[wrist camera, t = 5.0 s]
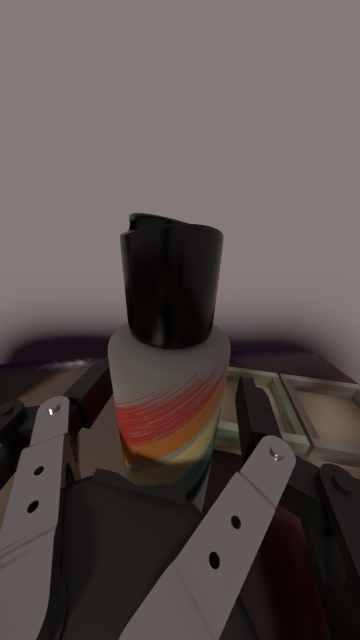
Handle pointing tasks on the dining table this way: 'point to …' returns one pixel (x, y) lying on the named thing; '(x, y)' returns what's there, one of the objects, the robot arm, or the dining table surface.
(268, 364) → the dining table surface
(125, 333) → the lotion bottle
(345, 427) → the cream flat tray
